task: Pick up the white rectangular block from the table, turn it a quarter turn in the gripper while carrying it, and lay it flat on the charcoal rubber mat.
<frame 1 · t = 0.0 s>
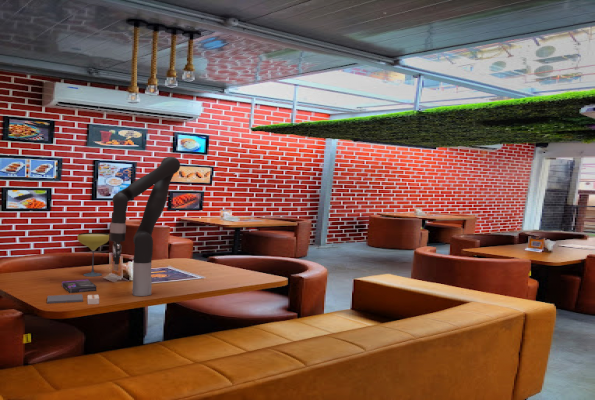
hand: (115, 262, 275), 17 cm above the table, tool pointing down, fingers open, 8 cm apart
rubber mat: (65, 299, 264), on the table
cocktail glass: (92, 275, 327), on the table
box: (78, 289, 289), on the table
white rectangular block: (93, 302, 261), on the table
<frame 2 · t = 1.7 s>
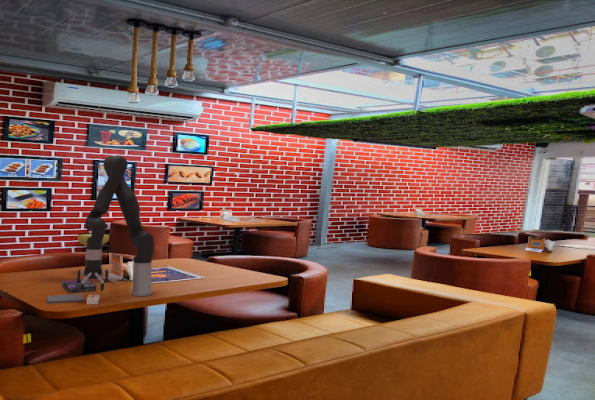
hand: (92, 291, 261), 5 cm above the table, tool pointing down, fingers open, 8 cm apart
nothing on the table moved.
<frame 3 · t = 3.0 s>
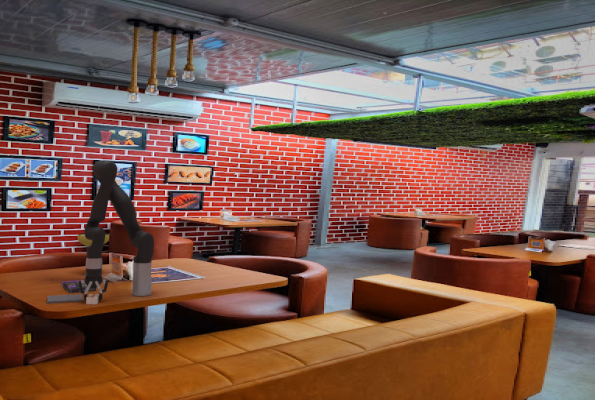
hand: (93, 300, 261), 1 cm above the table, tool pointing down, fingers closed on white rectangular block, 5 cm apart
white rectangular block: (93, 302, 261), on the table, touching gripper
everything else where it was.
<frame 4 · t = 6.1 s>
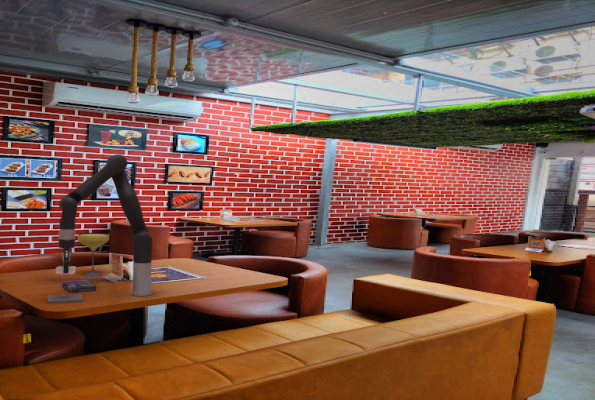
hand: (65, 271, 263), 14 cm above the table, tool pointing down, fingers closed on white rectangular block, 5 cm apart
white rectangular block: (65, 273, 263), point 13 cm above the table, touching gripper
everything else where it was.
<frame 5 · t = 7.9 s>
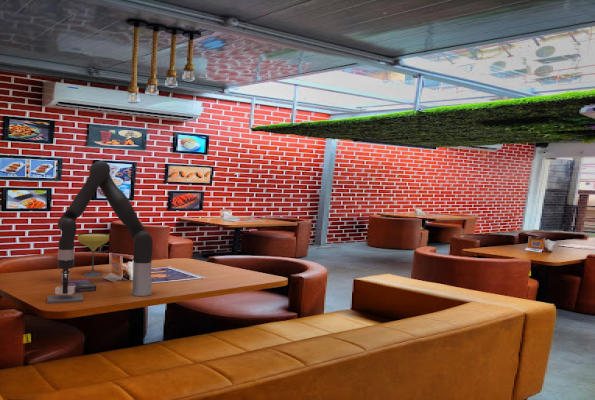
hand: (65, 291, 263), 4 cm above the table, tool pointing down, fingers closed on white rectangular block, 5 cm apart
white rectangular block: (65, 293, 264), point 3 cm above the table, touching gripper
everything else where it was.
when the fingers open (2 cm above the table, at t = 9.1 s): white rectangular block stays where it is, resting on rubber mat.
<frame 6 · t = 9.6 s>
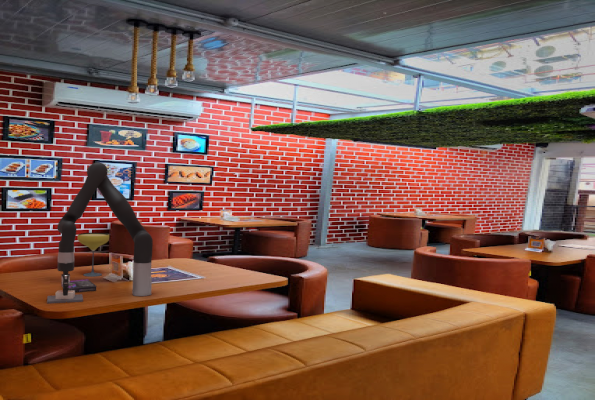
hand: (65, 293, 263), 3 cm above the table, tool pointing down, fingers open, 8 cm apart
white rectangular block: (65, 297, 264), point 1 cm above the table, touching rubber mat
everything else where it was.
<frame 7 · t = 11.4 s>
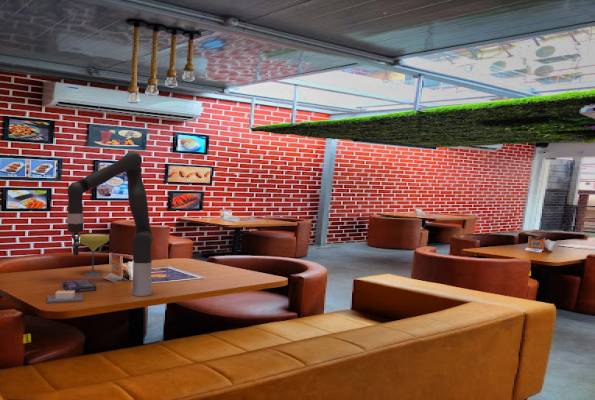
hand: (75, 254, 270), 22 cm above the table, tool pointing down, fingers open, 8 cm apart
nothing on the table moved.
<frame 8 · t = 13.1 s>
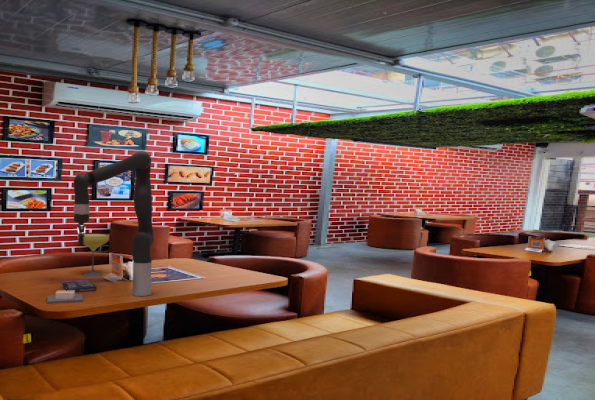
hand: (80, 244, 275), 26 cm above the table, tool pointing down, fingers open, 8 cm apart
nothing on the table moved.
at the end: white rectangular block inside the target area on the rubber mat (0.0 cm from its centre), point 1.0 cm above the rubber mat's base; white rectangular block tilted 0°; the gripper is holding nothing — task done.
